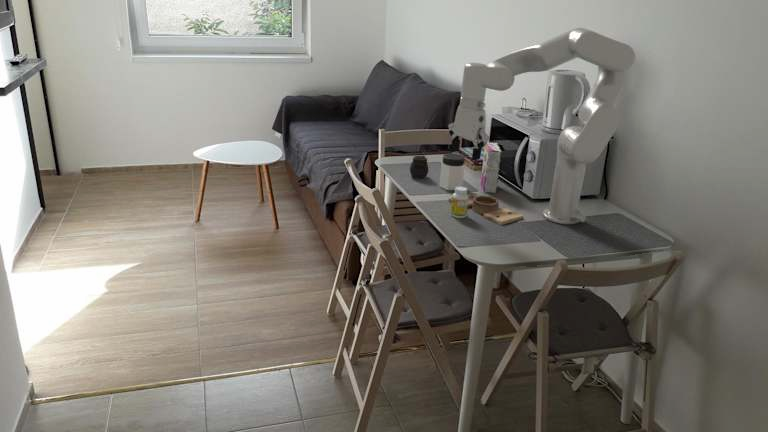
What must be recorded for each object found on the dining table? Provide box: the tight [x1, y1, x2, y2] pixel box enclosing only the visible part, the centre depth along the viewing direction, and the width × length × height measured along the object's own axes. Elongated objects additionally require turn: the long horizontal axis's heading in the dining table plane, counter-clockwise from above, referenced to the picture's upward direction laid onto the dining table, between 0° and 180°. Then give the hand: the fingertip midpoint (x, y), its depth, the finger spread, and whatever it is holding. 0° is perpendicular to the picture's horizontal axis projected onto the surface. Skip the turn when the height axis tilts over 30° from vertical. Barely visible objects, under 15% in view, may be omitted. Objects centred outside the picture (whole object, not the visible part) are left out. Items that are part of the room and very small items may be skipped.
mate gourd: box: [409, 149, 429, 179], centre depth 248 cm, size 7×8×10 cm
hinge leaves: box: [448, 192, 524, 226], centre depth 220 cm, size 25×11×4 cm, turn 39°
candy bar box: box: [480, 141, 502, 194], centre depth 239 cm, size 11×5×16 cm, turn 179°
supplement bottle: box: [450, 186, 468, 219], centre depth 213 cm, size 5×5×10 cm
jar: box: [438, 152, 466, 191], centre depth 238 cm, size 9×8×12 cm
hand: (465, 155), depth 207 cm, fingers open, 9 cm apart
